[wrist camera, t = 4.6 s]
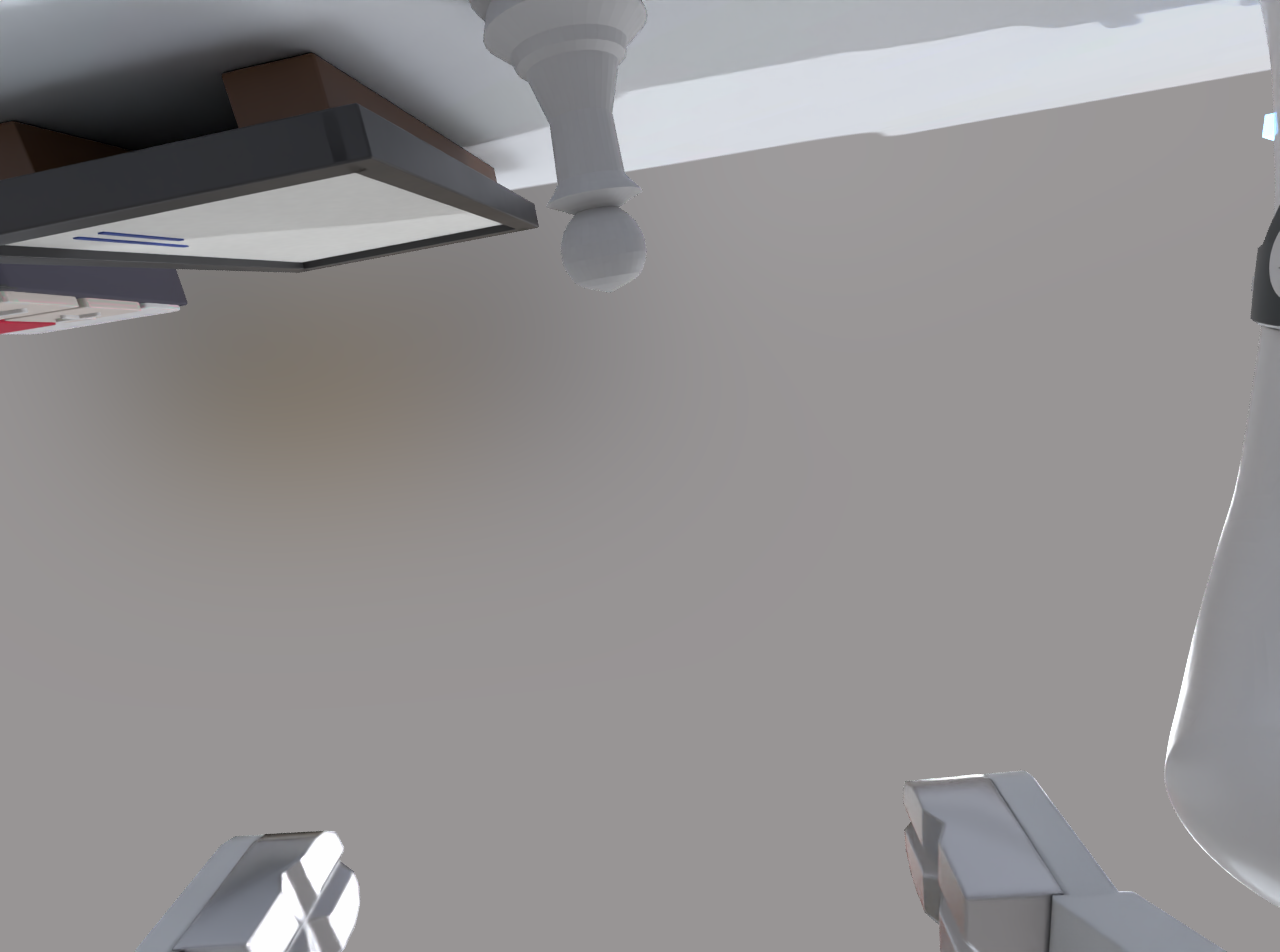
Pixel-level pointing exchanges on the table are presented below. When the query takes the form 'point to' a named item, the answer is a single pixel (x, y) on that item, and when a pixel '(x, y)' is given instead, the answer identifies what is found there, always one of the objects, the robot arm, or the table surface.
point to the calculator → (82, 295)
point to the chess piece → (578, 120)
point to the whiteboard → (253, 185)
